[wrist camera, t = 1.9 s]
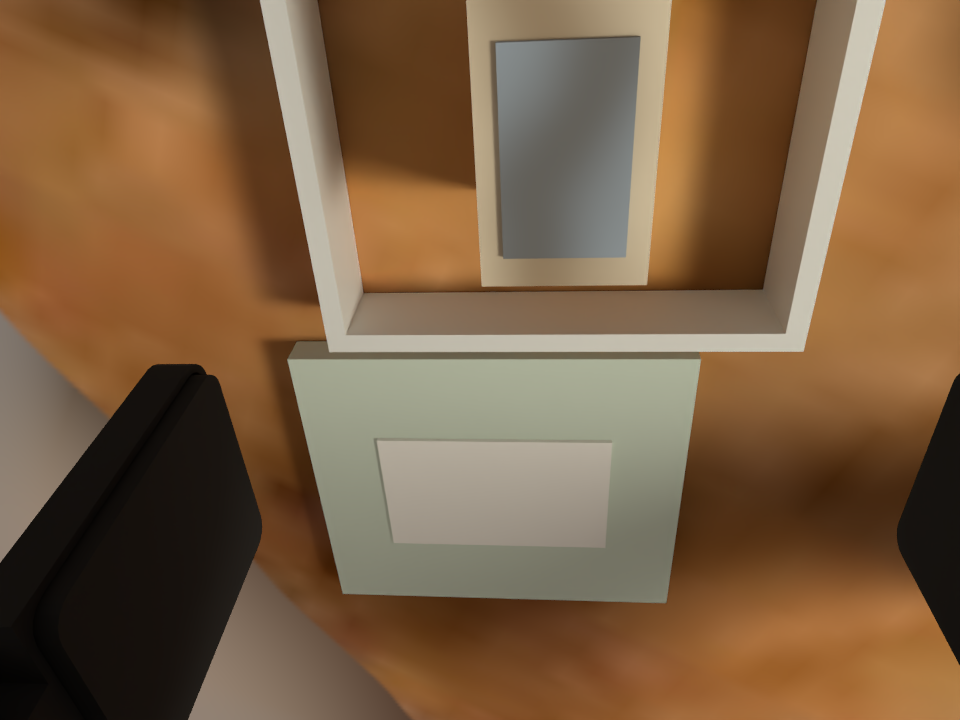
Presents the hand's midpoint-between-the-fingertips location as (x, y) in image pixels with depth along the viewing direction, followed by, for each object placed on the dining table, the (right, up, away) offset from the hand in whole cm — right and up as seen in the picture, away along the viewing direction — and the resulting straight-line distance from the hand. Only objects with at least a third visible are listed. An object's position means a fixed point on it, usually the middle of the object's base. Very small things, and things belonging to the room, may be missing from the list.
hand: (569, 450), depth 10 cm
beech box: (+2, +11, +17) cm, 20 cm away
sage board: (0, -5, +28) cm, 28 cm away
